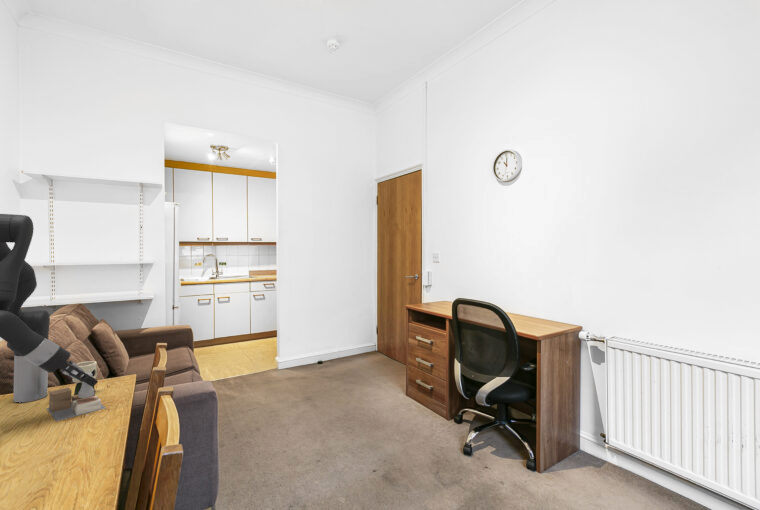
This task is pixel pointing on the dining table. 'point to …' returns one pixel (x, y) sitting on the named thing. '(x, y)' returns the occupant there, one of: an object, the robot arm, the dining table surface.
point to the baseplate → (67, 413)
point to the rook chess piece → (86, 389)
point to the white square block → (86, 405)
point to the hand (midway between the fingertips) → (93, 382)
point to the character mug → (87, 367)
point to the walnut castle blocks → (61, 399)
